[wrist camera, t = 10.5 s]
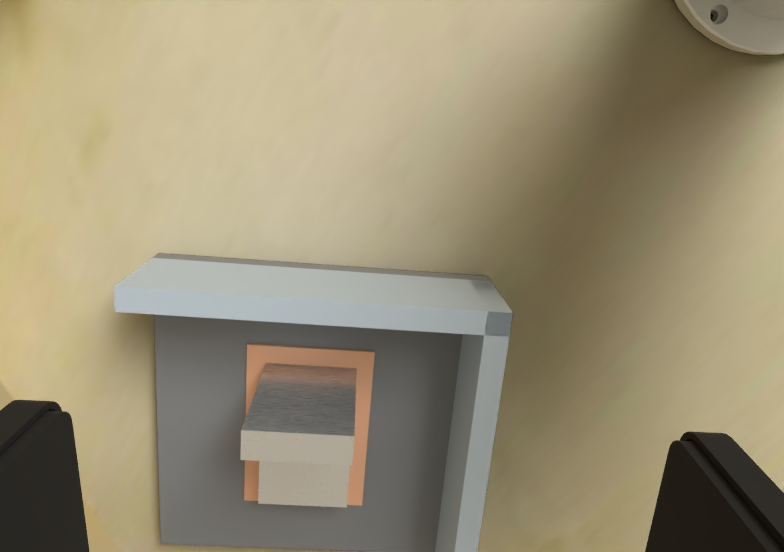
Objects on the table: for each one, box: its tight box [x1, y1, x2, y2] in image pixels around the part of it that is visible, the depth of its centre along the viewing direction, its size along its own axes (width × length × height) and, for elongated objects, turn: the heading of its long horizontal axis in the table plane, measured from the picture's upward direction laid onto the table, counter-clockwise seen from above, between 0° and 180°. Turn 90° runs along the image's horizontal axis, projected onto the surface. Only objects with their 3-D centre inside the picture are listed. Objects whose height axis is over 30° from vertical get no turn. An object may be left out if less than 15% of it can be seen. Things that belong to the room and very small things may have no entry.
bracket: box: [240, 363, 357, 508], centre depth 31 cm, size 8×5×7 cm, turn 175°
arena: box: [114, 253, 513, 552], centre depth 32 cm, size 18×18×6 cm
